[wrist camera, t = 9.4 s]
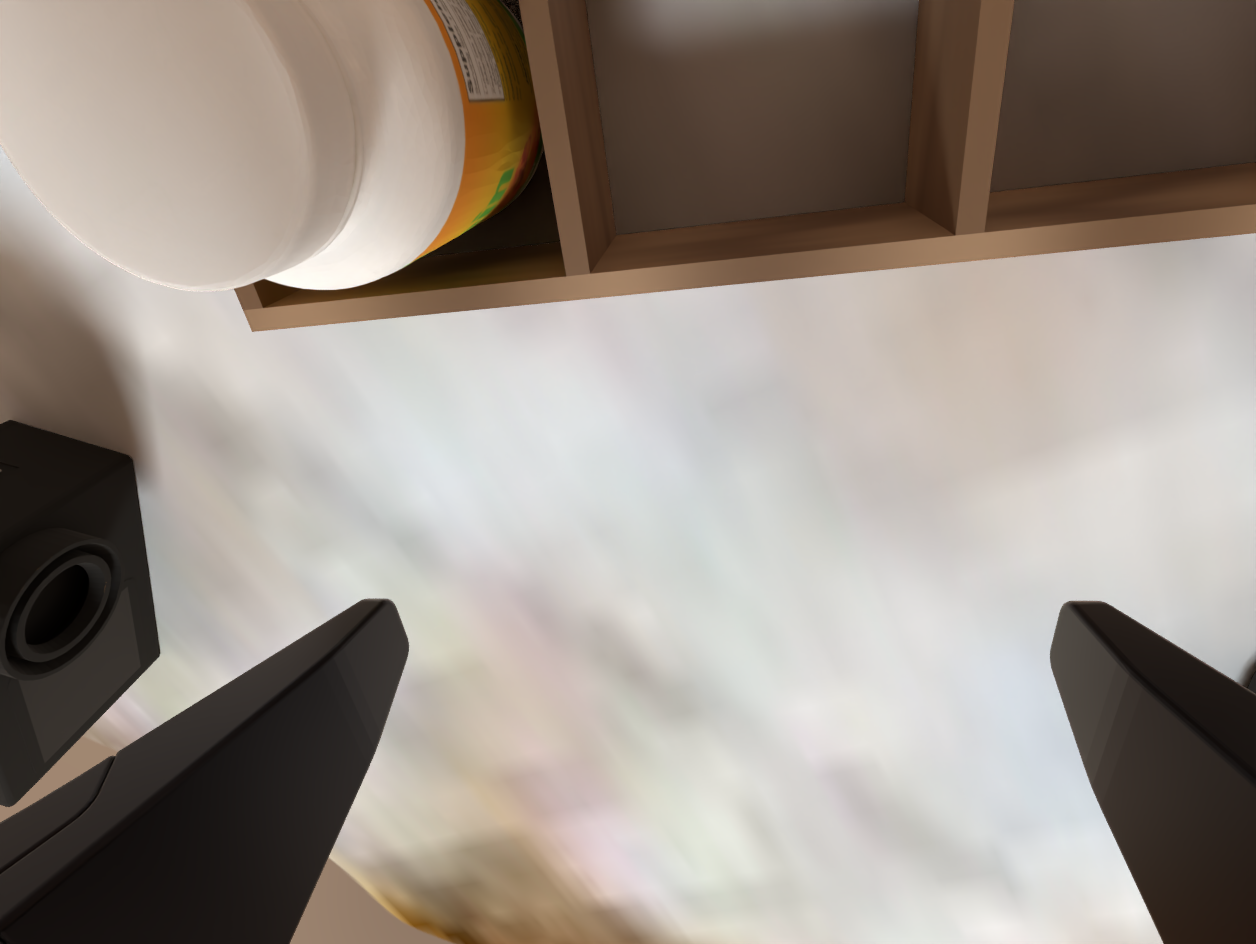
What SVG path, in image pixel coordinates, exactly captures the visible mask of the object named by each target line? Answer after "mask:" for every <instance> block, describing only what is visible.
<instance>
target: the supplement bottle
mask: <svg viewBox="0 0 1256 944" xmlns="http://www.w3.org/2000/svg"><path fill="white" fill-rule="evenodd" d="M0 144H1V146H2V148H3V150H4V151H5V153H6V155H7V156H8V158H9V160H10V161H11V163H12V164H13V166H14V167H15V169H16V170H17V172H18V173H19V175H20V176H21V178H22V179H23V181H24V182H25V183H26V185H27V186H28V187H29V189H30V190H31V191H32V193H33V194H34V195H35V196H36V198H37V199H38V200H39V201H40V202H41V204H42V205H43V206H44V207H45V208H46V209H47V211H48V212H49V213H50V214H51V215H52V216H53V217H54V218H55V219H56V220H57V221H58V222H59V223H60V224H61V225H62V226H63V227H64V228H66V229H67V230H68V231H69V232H70V233H71V234H72V235H73V236H75V237H76V238H77V239H78V240H79V241H80V242H82V243H83V244H84V245H85V246H86V247H88V248H89V249H91V250H92V251H93V252H95V253H96V254H98V255H99V256H101V257H102V258H104V259H105V260H107V261H108V262H110V263H112V264H114V265H116V266H118V267H119V268H121V269H123V270H125V271H127V272H129V273H131V274H133V275H135V276H137V277H139V278H142V279H145V280H147V281H150V282H153V283H156V284H159V285H163V286H166V287H170V288H174V289H180V290H186V291H203V292H213V291H224V290H230V289H234V288H238V287H242V286H246V285H249V284H251V283H254V282H257V281H259V280H262V279H266V280H269V281H272V282H276V283H279V284H283V285H287V286H291V287H296V288H302V289H314V290H338V289H345V288H352V287H356V286H360V285H364V284H367V283H370V282H373V281H376V280H378V279H380V278H382V277H385V276H388V275H390V274H392V273H394V272H396V271H398V270H400V269H402V268H404V267H406V266H407V265H409V264H411V263H412V262H414V261H415V260H417V259H419V258H421V257H423V256H425V255H426V254H428V253H430V252H431V251H433V250H435V249H437V248H439V247H440V246H442V245H444V244H446V243H447V242H449V241H451V240H452V239H454V238H457V237H458V236H460V235H462V234H463V233H464V232H466V231H468V230H470V229H471V228H473V227H475V226H477V225H478V224H480V223H482V222H484V221H486V220H487V219H489V218H491V217H492V216H494V215H496V214H497V213H499V212H500V211H502V210H503V209H505V208H506V207H507V206H508V205H509V204H511V203H512V202H513V201H514V200H515V199H516V198H517V197H518V196H519V195H520V194H521V193H522V192H523V190H524V189H525V187H526V186H527V185H528V183H529V182H530V180H531V178H532V177H533V175H534V173H535V171H536V169H537V167H538V164H539V161H540V159H541V156H542V153H543V150H544V144H543V139H542V133H541V127H540V121H539V116H538V110H537V104H536V98H535V93H534V87H533V81H532V75H531V70H530V64H529V58H528V52H527V46H526V41H525V35H524V29H523V28H522V26H521V24H520V23H519V21H518V20H517V19H516V17H515V16H514V15H513V13H512V12H511V11H510V10H509V8H508V7H507V6H506V5H505V4H504V3H503V2H502V1H501V0H0Z"/></svg>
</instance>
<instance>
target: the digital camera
mask: <svg viewBox="0 0 1256 944" xmlns="http://www.w3.org/2000/svg"><path fill="white" fill-rule="evenodd" d="M159 656H160V655H159V646H158V637H157V630H156V623H155V616H154V609H153V601H152V594H151V587H150V580H149V573H148V565H147V558H146V551H145V544H144V537H143V530H142V523H141V517H140V510H139V503H138V497H137V490H136V483H135V477H134V470H133V463H132V459H131V458H130V457H129V456H127V455H125V454H122V453H118V452H115V451H112V450H108V449H105V448H102V447H98V446H95V445H92V444H88V443H85V442H82V441H78V440H75V439H72V438H68V437H65V436H62V435H58V434H55V433H52V432H48V431H45V430H42V429H38V428H35V427H32V426H28V425H25V424H22V423H19V422H16V421H12V420H9V421H7V422H5V423H2V424H0V805H3V806H5V807H10V806H13V805H14V804H16V803H17V802H18V801H19V800H20V799H21V798H22V797H23V796H24V795H25V794H26V793H27V792H28V791H29V790H30V789H31V788H32V787H33V786H34V785H35V784H36V783H37V782H38V781H39V780H40V779H41V778H42V777H43V776H44V775H45V773H47V771H49V770H50V768H51V767H52V766H53V765H54V764H55V763H56V762H57V761H58V760H59V759H60V758H61V757H62V756H63V755H64V754H65V753H66V752H67V751H68V750H69V749H70V748H71V747H72V746H73V745H74V744H75V743H76V742H77V741H78V740H79V739H80V738H81V737H82V736H83V735H84V733H85V732H86V731H87V730H88V729H89V728H90V727H91V726H92V725H93V724H94V723H95V722H96V721H97V720H98V719H99V718H100V717H101V716H102V715H103V714H104V713H105V712H106V711H107V710H108V709H109V708H110V707H111V706H112V705H113V704H114V703H115V702H116V701H117V700H118V698H119V697H120V696H121V695H122V694H123V693H124V692H125V691H126V690H127V689H128V688H129V687H130V686H131V685H132V684H133V683H134V682H135V681H136V680H137V679H138V678H139V677H140V676H141V675H142V674H143V673H144V672H145V671H146V670H147V669H148V668H149V667H150V666H151V665H152V663H153V662H154V661H155V660H156V659H157V658H158V657H159Z"/></svg>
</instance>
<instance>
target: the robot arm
mask: <svg viewBox="0 0 1256 944" xmlns="http://www.w3.org/2000/svg"><path fill="white" fill-rule="evenodd" d="M408 652H409V642H408V638H407V635H406V632H405V630H404V627H403V624H402V621H401V619H400V616H399V613H398V611H397V608H396V606H395V604H394V603H393V602H392V601H391V600H389V599H364V600H361V601H359V602H358V603H356V604H354V605H353V606H351V607H350V608H348V609H346V610H345V611H343V612H342V613H340V614H338V615H337V616H335V617H334V618H332V619H330V620H329V621H327V622H326V623H324V624H322V625H321V626H319V627H318V628H316V629H314V630H313V631H311V632H309V633H308V634H306V635H305V636H303V637H301V638H300V639H298V640H297V641H295V642H293V643H292V644H290V645H289V646H287V647H285V648H284V649H282V650H281V651H279V652H277V653H276V654H274V655H273V656H271V657H269V658H268V659H266V660H265V661H263V662H261V663H260V664H258V665H256V666H255V667H253V668H252V669H250V670H248V671H247V672H245V673H244V674H242V675H240V676H239V677H237V678H236V679H234V680H232V681H231V682H229V683H228V684H226V685H224V686H223V687H221V688H220V689H218V690H216V691H215V692H213V693H212V694H210V695H208V696H207V697H205V698H203V699H202V700H200V701H199V702H197V703H195V704H194V705H192V706H191V707H189V708H187V709H186V710H184V711H183V712H181V713H179V714H178V715H176V716H175V717H173V718H171V719H170V720H168V721H167V722H165V723H163V724H162V725H160V726H159V727H157V728H155V729H154V730H152V731H150V732H149V733H147V734H146V735H144V736H142V737H141V738H139V739H138V740H136V741H134V742H133V743H131V744H130V745H128V746H126V747H125V748H123V749H122V750H120V751H119V752H118V753H117V754H116V756H110V757H108V758H107V759H105V760H104V761H102V762H101V763H99V764H97V765H96V766H94V767H92V768H91V769H89V770H88V771H86V772H84V773H83V774H81V775H80V776H78V777H77V778H75V779H73V780H72V781H70V782H68V783H66V784H65V785H63V786H62V787H60V788H58V789H57V790H55V791H53V792H52V793H50V794H48V795H47V796H46V797H43V798H42V799H40V800H39V801H37V802H35V803H33V804H32V805H30V806H28V807H27V808H25V809H23V810H21V811H20V812H18V813H16V814H15V815H13V816H11V817H9V818H8V819H6V820H4V821H2V822H0V944H290V942H291V939H292V937H293V935H294V933H295V931H296V928H297V926H298V924H299V922H300V919H301V917H302V915H303V913H304V910H305V908H306V906H307V904H308V902H309V899H310V897H311V895H312V893H313V890H314V888H315V886H316V884H317V881H318V879H319V877H320V875H321V873H322V870H323V868H324V866H325V864H326V861H327V859H328V857H329V855H330V853H331V850H332V848H333V846H334V844H335V842H336V839H337V837H338V835H339V833H340V830H341V828H342V826H343V824H344V822H345V819H346V817H347V815H348V813H349V810H350V808H351V806H352V804H353V802H354V799H355V797H356V795H357V793H358V790H359V788H360V786H361V784H362V781H363V779H364V777H365V775H366V773H367V770H368V768H369V766H370V763H371V761H372V759H373V756H374V754H375V752H376V749H377V746H378V744H379V741H380V738H381V735H382V732H383V729H384V726H385V723H386V720H387V717H388V714H389V711H390V708H391V705H392V702H393V699H394V696H395V693H396V690H397V687H398V684H399V681H400V678H401V675H402V672H403V669H404V666H405V663H406V660H407V657H408ZM1050 663H1051V668H1052V671H1053V675H1054V678H1055V681H1056V684H1057V687H1058V690H1059V693H1060V696H1061V699H1062V702H1063V705H1064V708H1065V711H1066V714H1067V717H1068V720H1069V723H1070V726H1071V729H1072V732H1073V735H1074V738H1075V741H1076V744H1077V747H1078V750H1079V753H1080V756H1081V759H1082V762H1083V765H1084V767H1085V770H1086V773H1087V776H1088V778H1089V781H1090V784H1091V787H1092V789H1093V791H1094V794H1095V796H1096V798H1097V801H1098V803H1099V805H1100V808H1101V810H1102V812H1103V814H1104V816H1105V818H1106V821H1107V823H1108V825H1109V827H1110V829H1111V831H1112V833H1113V836H1114V838H1115V840H1116V842H1117V844H1118V846H1119V849H1120V851H1121V853H1122V855H1123V857H1124V859H1125V861H1126V864H1127V866H1128V868H1129V870H1130V872H1131V874H1132V877H1133V879H1134V881H1135V883H1136V885H1137V887H1138V889H1139V892H1140V894H1141V896H1142V898H1143V900H1144V902H1145V905H1146V907H1147V909H1148V911H1149V913H1150V915H1151V917H1152V920H1153V922H1154V924H1155V926H1156V928H1157V930H1158V933H1159V935H1160V937H1161V939H1162V941H1163V943H1164V944H1256V671H1255V674H1254V676H1253V678H1252V680H1251V682H1250V684H1249V686H1248V688H1245V687H1244V686H1242V685H1240V684H1239V683H1237V682H1235V681H1234V680H1232V679H1231V678H1229V677H1227V676H1226V675H1224V674H1222V673H1221V672H1219V671H1217V670H1216V669H1214V668H1213V667H1211V666H1209V665H1208V664H1206V663H1204V662H1203V661H1201V660H1199V659H1198V658H1196V657H1194V656H1193V655H1191V654H1190V653H1188V652H1186V651H1185V650H1183V649H1181V648H1180V647H1178V646H1176V645H1175V644H1173V643H1172V642H1170V641H1168V640H1167V639H1165V638H1163V637H1162V636H1160V635H1158V634H1157V633H1155V632H1154V631H1152V630H1150V629H1149V628H1147V627H1145V626H1144V625H1142V624H1140V623H1139V622H1137V621H1135V620H1134V619H1132V618H1131V617H1129V616H1127V615H1126V614H1124V613H1122V612H1121V611H1119V610H1117V609H1116V608H1114V607H1113V606H1111V605H1109V604H1107V603H1105V602H1102V601H1069V602H1066V603H1065V604H1064V605H1063V606H1062V608H1061V610H1060V613H1059V617H1058V621H1057V625H1056V629H1055V633H1054V637H1053V641H1052V645H1051V650H1050Z"/></svg>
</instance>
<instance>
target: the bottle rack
mask: <svg viewBox="0 0 1256 944" xmlns="http://www.w3.org/2000/svg"><path fill="white" fill-rule="evenodd" d="M1014 1H1015V0H919V7H918V21H917V35H916V49H915V63H914V77H913V91H912V105H911V119H910V133H909V147H908V161H907V174H906V188H905V202H902V203H893V204H885V205H876V206H867V207H858V208H850V209H841V210H832V211H823V212H815V213H806V214H797V215H788V216H780V217H771V218H762V219H753V220H744V221H736V222H727V223H718V224H709V225H701V226H692V227H683V228H674V229H666V230H657V231H648V232H639V233H631V234H622V235H616V229H615V221H614V214H613V206H612V198H611V191H610V183H609V176H608V168H607V161H606V153H605V146H604V138H603V131H602V123H601V116H600V108H599V100H598V93H597V85H596V78H595V70H594V63H593V55H592V48H591V40H590V33H589V25H588V18H587V10H586V3H585V0H519V6H520V12H521V18H522V23H523V29H524V35H525V41H526V46H527V52H528V58H529V64H530V70H531V75H532V81H533V87H534V93H535V98H536V104H537V110H538V116H539V121H540V127H541V133H542V139H543V144H544V150H545V156H546V162H547V167H548V173H549V179H550V185H551V190H552V196H553V202H554V208H555V214H556V219H557V225H558V231H559V237H560V242H552V243H543V244H534V245H525V246H517V247H508V248H499V249H490V250H482V251H473V252H464V253H455V254H447V255H438V256H429V257H421V258H419V259H417V260H415V261H414V262H412V263H411V264H409V265H407V266H406V267H404V268H402V269H400V270H398V271H396V272H394V273H392V274H390V275H388V276H385V277H382V278H380V279H378V280H376V281H373V282H370V283H367V284H364V285H360V286H356V287H352V288H345V289H338V290H314V289H302V288H296V287H291V286H287V285H283V284H279V283H276V282H272V281H269V280H266V279H262V280H259V281H257V282H254V283H251V284H249V285H246V286H242V287H238V288H234V290H235V292H236V294H237V297H238V299H239V302H240V304H241V306H242V309H243V311H244V313H245V316H246V318H247V320H248V323H249V325H250V328H251V330H252V332H255V331H265V330H275V329H285V328H296V327H306V326H316V325H326V324H336V323H346V322H357V321H367V320H377V319H387V318H397V317H407V316H417V315H428V314H438V313H448V312H458V311H468V310H478V309H489V308H499V307H509V306H519V305H529V304H539V303H550V302H560V301H570V300H580V299H590V298H600V297H611V296H621V295H631V294H641V293H651V292H661V291H672V290H682V289H692V288H702V287H712V286H722V285H733V284H743V283H753V282H763V281H773V280H783V279H794V278H804V277H814V276H824V275H834V274H844V273H855V272H865V271H875V270H885V269H895V268H905V267H916V266H926V265H936V264H946V263H956V262H966V261H977V260H987V259H997V258H1007V257H1017V256H1027V255H1038V254H1048V253H1058V252H1068V251H1078V250H1088V249H1099V248H1109V247H1119V246H1129V245H1139V244H1149V243H1159V242H1170V241H1180V240H1190V239H1200V238H1210V237H1220V236H1231V235H1241V234H1251V233H1256V162H1253V163H1244V164H1235V165H1226V166H1218V167H1209V168H1200V169H1191V170H1183V171H1174V172H1165V173H1156V174H1148V175H1139V176H1130V177H1121V178H1113V179H1104V180H1095V181H1086V182H1077V183H1069V184H1060V185H1051V186H1042V187H1034V188H1025V189H1016V190H1007V191H999V192H990V185H991V178H992V170H993V162H994V155H995V147H996V139H997V131H998V124H999V116H1000V108H1001V101H1002V93H1003V85H1004V78H1005V70H1006V62H1007V55H1008V47H1009V39H1010V32H1011V24H1012V16H1013V9H1014Z"/></svg>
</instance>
